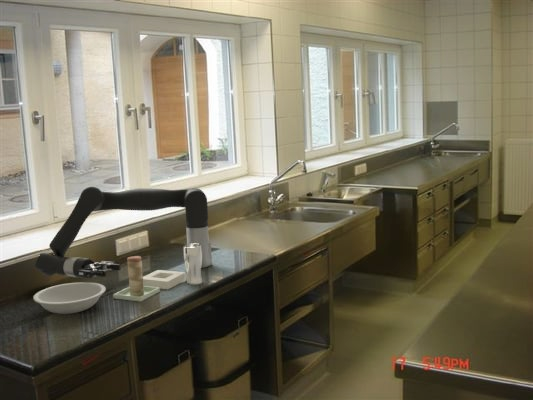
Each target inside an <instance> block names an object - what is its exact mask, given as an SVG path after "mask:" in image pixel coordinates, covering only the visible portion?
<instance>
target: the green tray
mask: <svg viewBox="0 0 533 400" xmlns="http://www.w3.org/2000/svg"><path fill="white" fill-rule="evenodd" d="M143 287H144V295H142V296H130V287H129V286H128V287H126V288H123V289H121V290H119V291H117V292H115V293H113V294H112V295H113V299H115V300H116V299H117V300H125V301H134V302H143V301H144V300H146V299H149V298H151V297H153V296H154V295H156V294H158V293H160V292H161V289H160V288H159V287H150V286H143Z"/></svg>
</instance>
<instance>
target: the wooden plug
mask: <svg viewBox="0 0 533 400" xmlns="http://www.w3.org/2000/svg"><path fill="white" fill-rule="evenodd" d="M126 259H127V260H126V262H127V272H128V285H129V286H128V287H130V296H142V295H144V287H143V277H144V275H143V262H142V256H140V255H134V256H133V255H132V256H129V257H127V258H126Z"/></svg>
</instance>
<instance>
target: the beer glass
mask: <svg viewBox="0 0 533 400" xmlns="http://www.w3.org/2000/svg"><path fill="white" fill-rule="evenodd" d="M183 261H184V266H185V269H186V284H187V285H188V284H189V286H197V285H200V284H202V283H203V279H202V274H201V273H202V268H201V265H202V251H201V245H200V244H197V243H193V244H186V243H185V245H183Z"/></svg>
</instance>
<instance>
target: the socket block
mask: <svg viewBox="0 0 533 400" xmlns="http://www.w3.org/2000/svg"><path fill="white" fill-rule="evenodd" d="M185 282H187V271H175V270H165V269H157V270H155V271H153V272H151V273H149V274H145V275H143V286H150V287H159V288H160V290H162V289H163V290H169V289H171V288H174V287H175V286H177V285H179V284H182V283H185Z"/></svg>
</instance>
